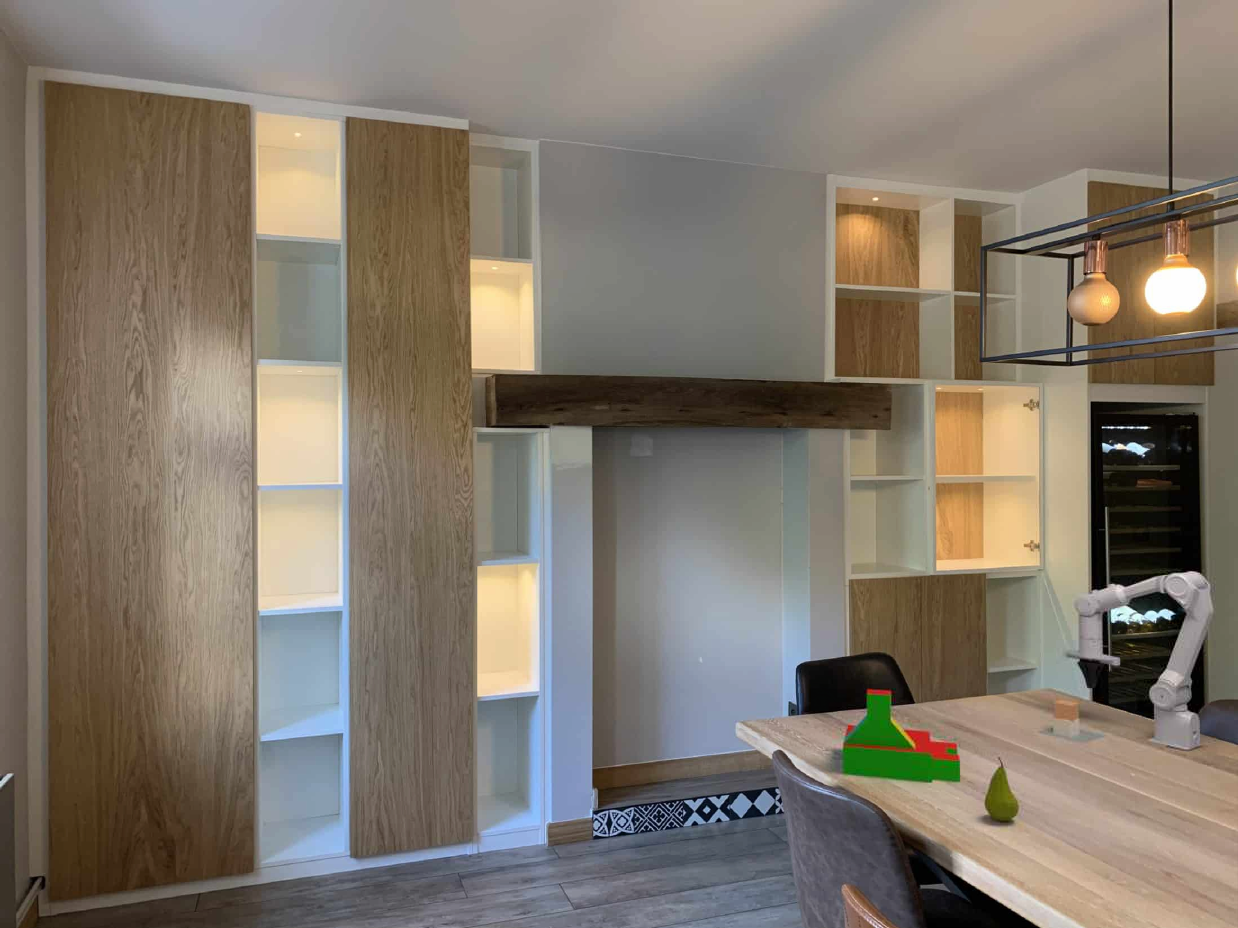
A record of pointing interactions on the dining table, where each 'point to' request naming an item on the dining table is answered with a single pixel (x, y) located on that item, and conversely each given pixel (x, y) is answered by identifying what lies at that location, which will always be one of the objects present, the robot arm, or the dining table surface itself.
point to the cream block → (1066, 727)
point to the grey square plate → (1082, 737)
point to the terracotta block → (1066, 710)
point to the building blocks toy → (895, 748)
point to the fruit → (1001, 797)
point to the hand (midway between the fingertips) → (1091, 687)
